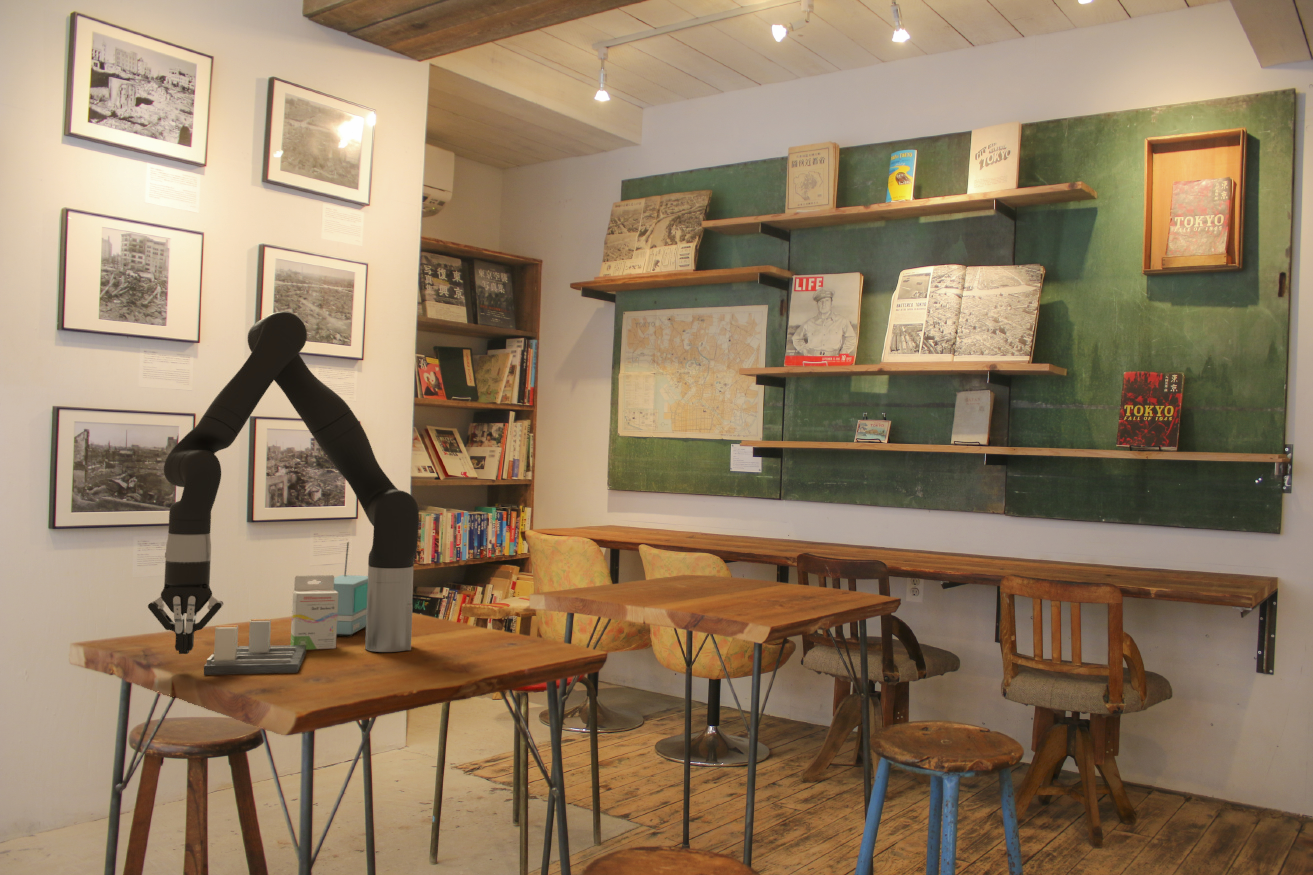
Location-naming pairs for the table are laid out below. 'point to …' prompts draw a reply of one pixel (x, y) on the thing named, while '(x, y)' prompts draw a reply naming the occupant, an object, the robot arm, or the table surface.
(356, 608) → the radio
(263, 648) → the fader far
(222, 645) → the fader near
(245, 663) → the gray slotted tray
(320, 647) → the ink box
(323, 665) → the table surface
